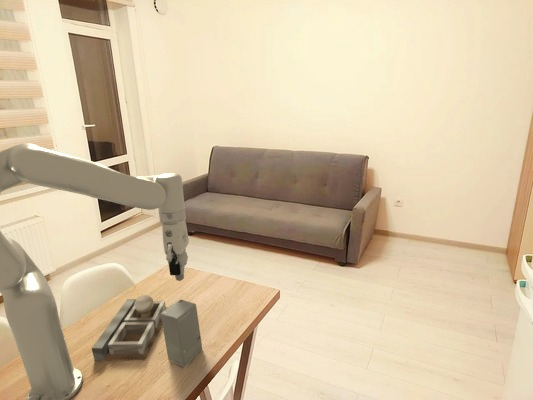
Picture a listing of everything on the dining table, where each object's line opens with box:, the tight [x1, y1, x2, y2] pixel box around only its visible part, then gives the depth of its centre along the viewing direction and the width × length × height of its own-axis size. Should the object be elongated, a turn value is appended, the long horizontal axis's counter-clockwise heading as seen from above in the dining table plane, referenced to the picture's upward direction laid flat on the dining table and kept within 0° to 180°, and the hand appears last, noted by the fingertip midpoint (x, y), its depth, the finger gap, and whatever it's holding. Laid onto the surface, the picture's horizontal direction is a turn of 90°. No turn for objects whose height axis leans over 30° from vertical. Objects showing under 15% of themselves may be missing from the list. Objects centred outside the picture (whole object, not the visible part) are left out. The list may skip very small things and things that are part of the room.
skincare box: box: [160, 299, 203, 368], centre depth 97 cm, size 8×7×16 cm
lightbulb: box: [172, 249, 189, 282], centre depth 105 cm, size 6×6×11 cm
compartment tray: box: [91, 294, 169, 362], centre depth 108 cm, size 24×15×10 cm, turn 178°
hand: (178, 269), depth 106 cm, fingers closed on lightbulb, 5 cm apart
